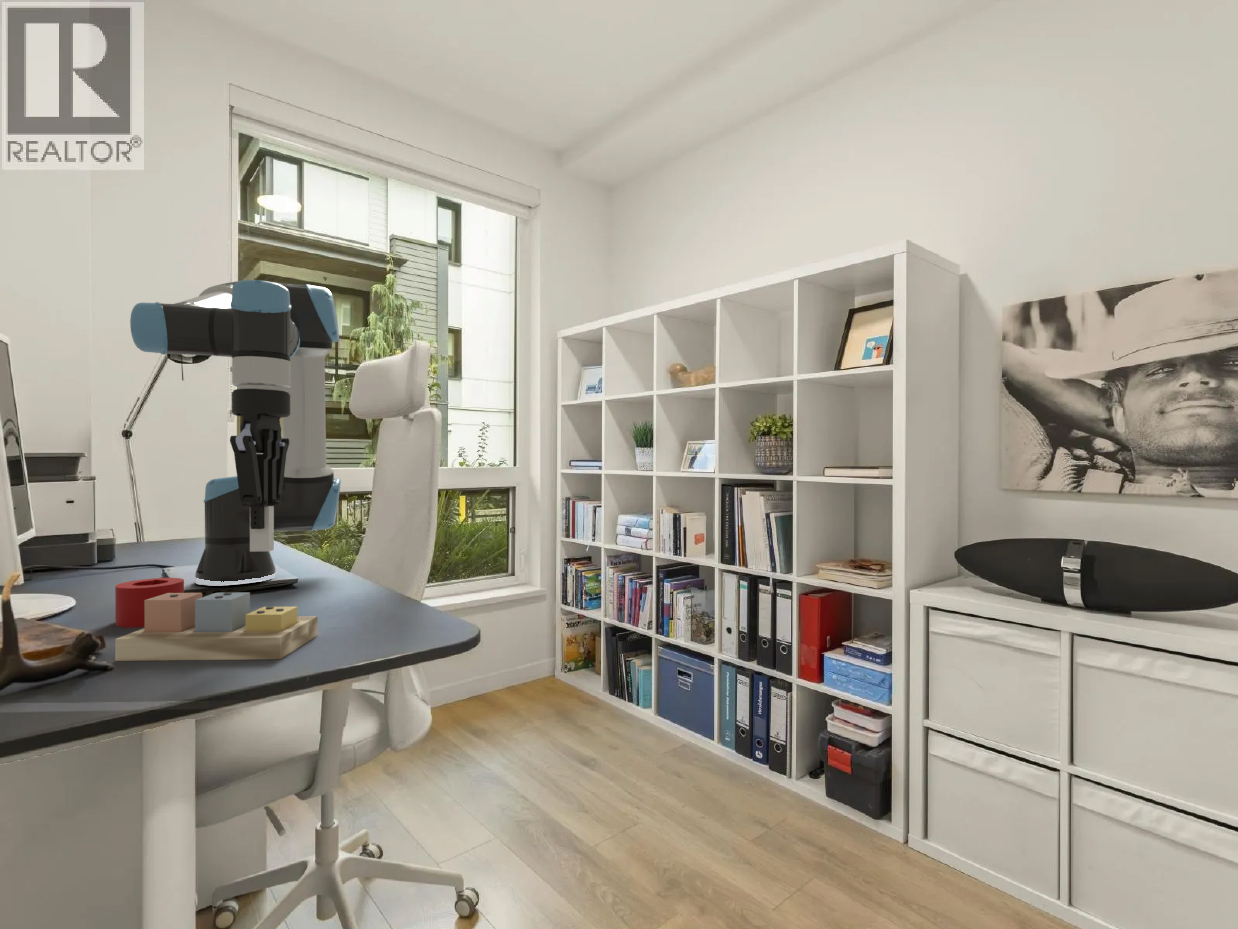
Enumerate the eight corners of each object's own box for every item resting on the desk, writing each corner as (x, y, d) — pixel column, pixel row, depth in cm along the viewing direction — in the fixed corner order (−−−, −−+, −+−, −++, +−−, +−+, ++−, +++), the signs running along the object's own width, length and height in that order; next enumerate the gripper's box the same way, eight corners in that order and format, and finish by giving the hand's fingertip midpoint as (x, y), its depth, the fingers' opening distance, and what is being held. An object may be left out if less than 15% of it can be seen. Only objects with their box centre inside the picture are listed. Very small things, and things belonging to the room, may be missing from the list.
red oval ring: (173, 626, 107) (172, 586, 107) (105, 631, 104) (104, 589, 104) (206, 603, 124) (205, 568, 124) (148, 606, 121) (148, 571, 121)
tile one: (167, 626, 96) (167, 591, 96) (202, 626, 97) (202, 591, 96) (144, 635, 91) (144, 598, 91) (180, 635, 92) (180, 598, 91)
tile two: (215, 626, 97) (215, 591, 97) (249, 625, 97) (249, 591, 97) (195, 635, 92) (195, 598, 92) (231, 634, 92) (231, 598, 92)
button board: (172, 636, 100) (172, 617, 100) (317, 635, 101) (317, 616, 101) (115, 660, 88) (115, 638, 88) (280, 659, 89) (280, 637, 89)
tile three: (263, 640, 97) (263, 605, 97) (297, 639, 97) (297, 605, 97) (245, 649, 92) (245, 613, 92) (281, 649, 92) (281, 613, 92)
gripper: (257, 393, 101) (257, 544, 101) (209, 384, 88) (209, 557, 88) (306, 394, 101) (307, 544, 101) (266, 384, 88) (266, 557, 88)
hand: (261, 550), depth 95 cm, fingers closed
